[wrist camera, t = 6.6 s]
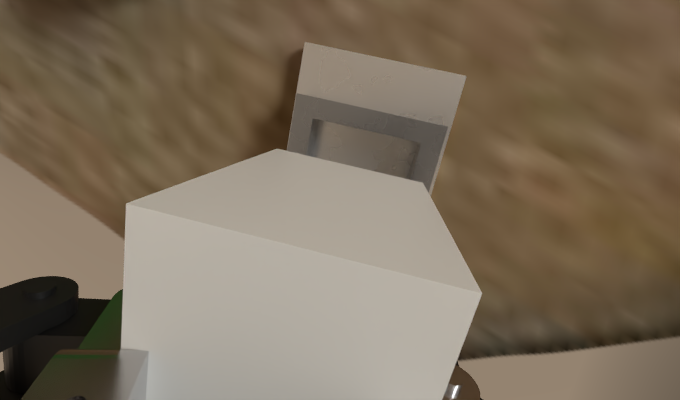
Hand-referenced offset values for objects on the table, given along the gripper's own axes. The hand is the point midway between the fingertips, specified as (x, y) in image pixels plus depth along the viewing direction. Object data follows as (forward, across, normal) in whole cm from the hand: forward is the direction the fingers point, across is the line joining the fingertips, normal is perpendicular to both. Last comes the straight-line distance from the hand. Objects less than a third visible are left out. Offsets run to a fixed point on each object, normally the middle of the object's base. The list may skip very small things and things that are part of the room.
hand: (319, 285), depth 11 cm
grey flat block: (+13, 0, 0) cm, 13 cm away
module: (+1, 0, 0) cm, 1 cm away
